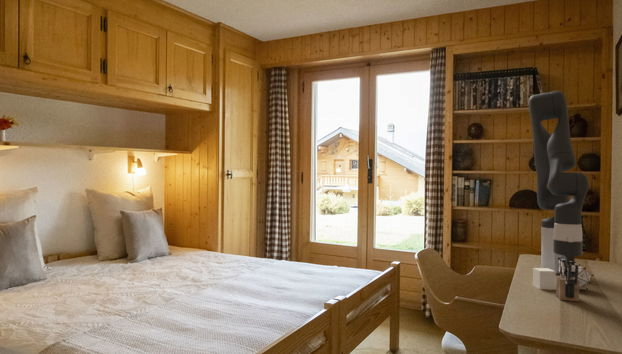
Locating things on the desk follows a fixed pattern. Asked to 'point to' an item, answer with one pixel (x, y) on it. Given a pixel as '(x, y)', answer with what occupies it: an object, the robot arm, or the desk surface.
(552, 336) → the desk surface
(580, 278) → the game die
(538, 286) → the white block
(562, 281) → the walnut block
